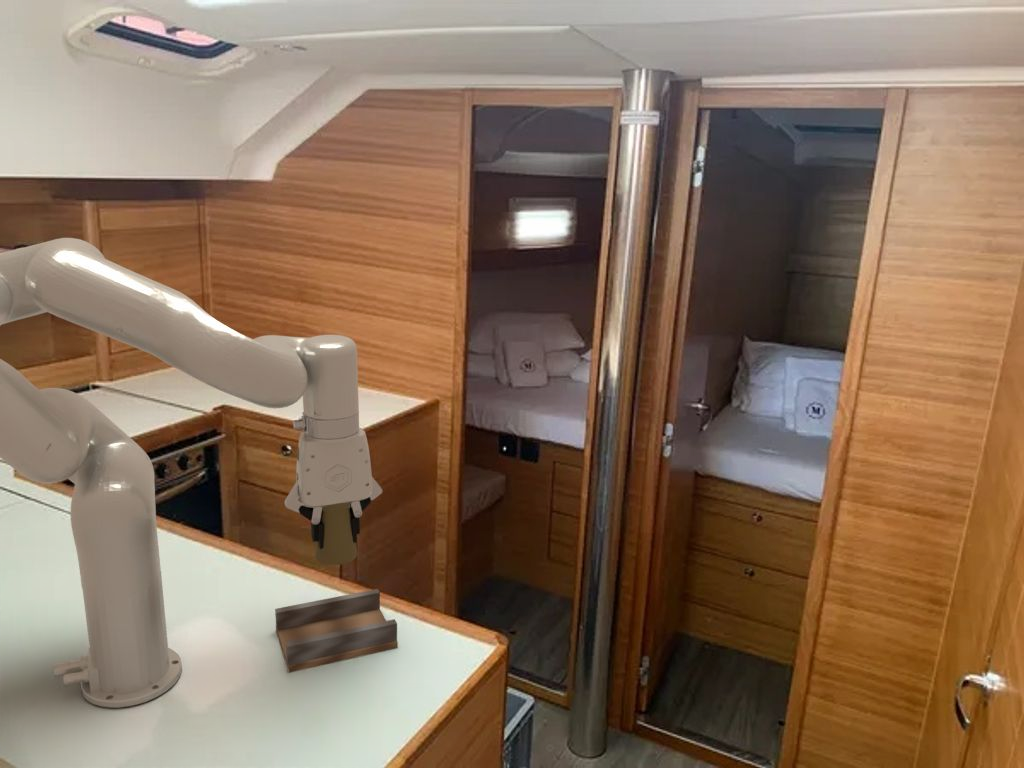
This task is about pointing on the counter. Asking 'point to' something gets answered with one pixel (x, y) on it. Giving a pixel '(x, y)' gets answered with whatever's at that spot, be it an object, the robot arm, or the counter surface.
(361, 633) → the track
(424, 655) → the counter surface
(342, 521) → the olive brown pawn
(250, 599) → the counter surface
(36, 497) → the counter surface
